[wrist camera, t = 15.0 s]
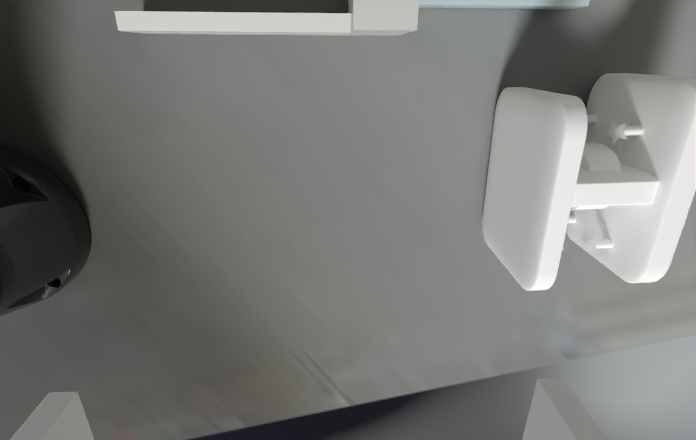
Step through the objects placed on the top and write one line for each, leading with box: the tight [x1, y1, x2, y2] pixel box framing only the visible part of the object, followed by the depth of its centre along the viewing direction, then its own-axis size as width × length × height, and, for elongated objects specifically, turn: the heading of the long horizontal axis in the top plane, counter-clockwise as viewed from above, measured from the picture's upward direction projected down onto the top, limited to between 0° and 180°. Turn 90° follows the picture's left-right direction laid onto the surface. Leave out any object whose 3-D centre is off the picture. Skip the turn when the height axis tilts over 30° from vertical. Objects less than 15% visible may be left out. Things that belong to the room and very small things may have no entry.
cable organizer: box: [482, 73, 696, 291], centre depth 31 cm, size 15×11×12 cm
